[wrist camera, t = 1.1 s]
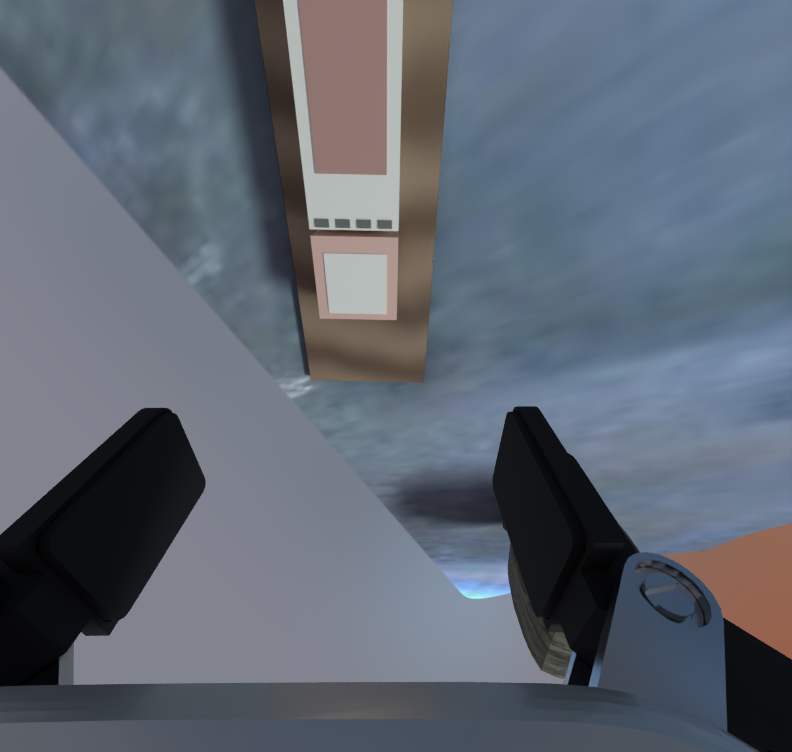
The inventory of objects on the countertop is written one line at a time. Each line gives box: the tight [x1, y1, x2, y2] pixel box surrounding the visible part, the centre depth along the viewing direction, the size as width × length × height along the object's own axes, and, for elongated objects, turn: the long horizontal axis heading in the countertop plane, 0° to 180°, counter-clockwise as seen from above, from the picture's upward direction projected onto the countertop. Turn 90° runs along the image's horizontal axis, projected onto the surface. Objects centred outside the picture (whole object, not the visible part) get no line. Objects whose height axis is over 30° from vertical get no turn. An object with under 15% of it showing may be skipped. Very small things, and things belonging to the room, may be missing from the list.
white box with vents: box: [283, 0, 403, 231], centre depth 20 cm, size 15×6×5 cm, turn 179°
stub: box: [310, 230, 399, 320], centre depth 25 cm, size 6×6×5 cm
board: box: [254, 0, 453, 382], centre depth 26 cm, size 32×12×1 cm, turn 179°
